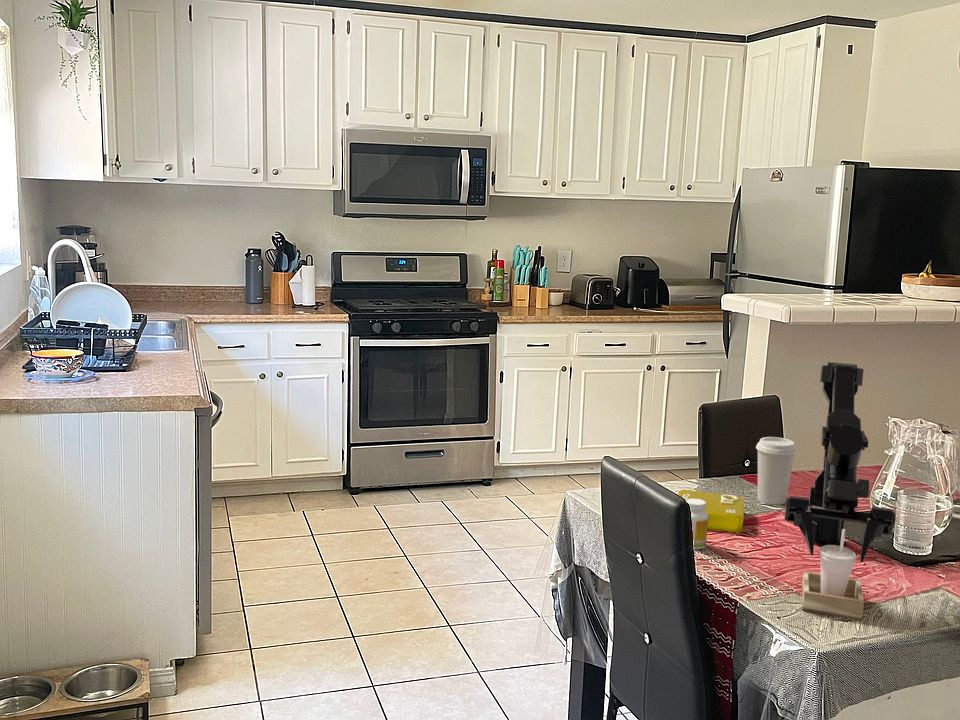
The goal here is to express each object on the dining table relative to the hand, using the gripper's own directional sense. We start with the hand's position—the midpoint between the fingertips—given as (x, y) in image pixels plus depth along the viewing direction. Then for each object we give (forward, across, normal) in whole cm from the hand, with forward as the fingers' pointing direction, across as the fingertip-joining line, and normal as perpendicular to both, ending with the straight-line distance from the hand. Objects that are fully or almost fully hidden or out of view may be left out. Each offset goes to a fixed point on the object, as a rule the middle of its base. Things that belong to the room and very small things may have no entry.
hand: (836, 557), depth 167 cm
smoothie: (+5, 0, +8) cm, 9 cm away
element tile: (-20, -25, +35) cm, 47 cm away
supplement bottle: (-8, -27, +21) cm, 35 cm away
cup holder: (+6, 0, +8) cm, 10 cm away
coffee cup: (-34, -12, +48) cm, 60 cm away
